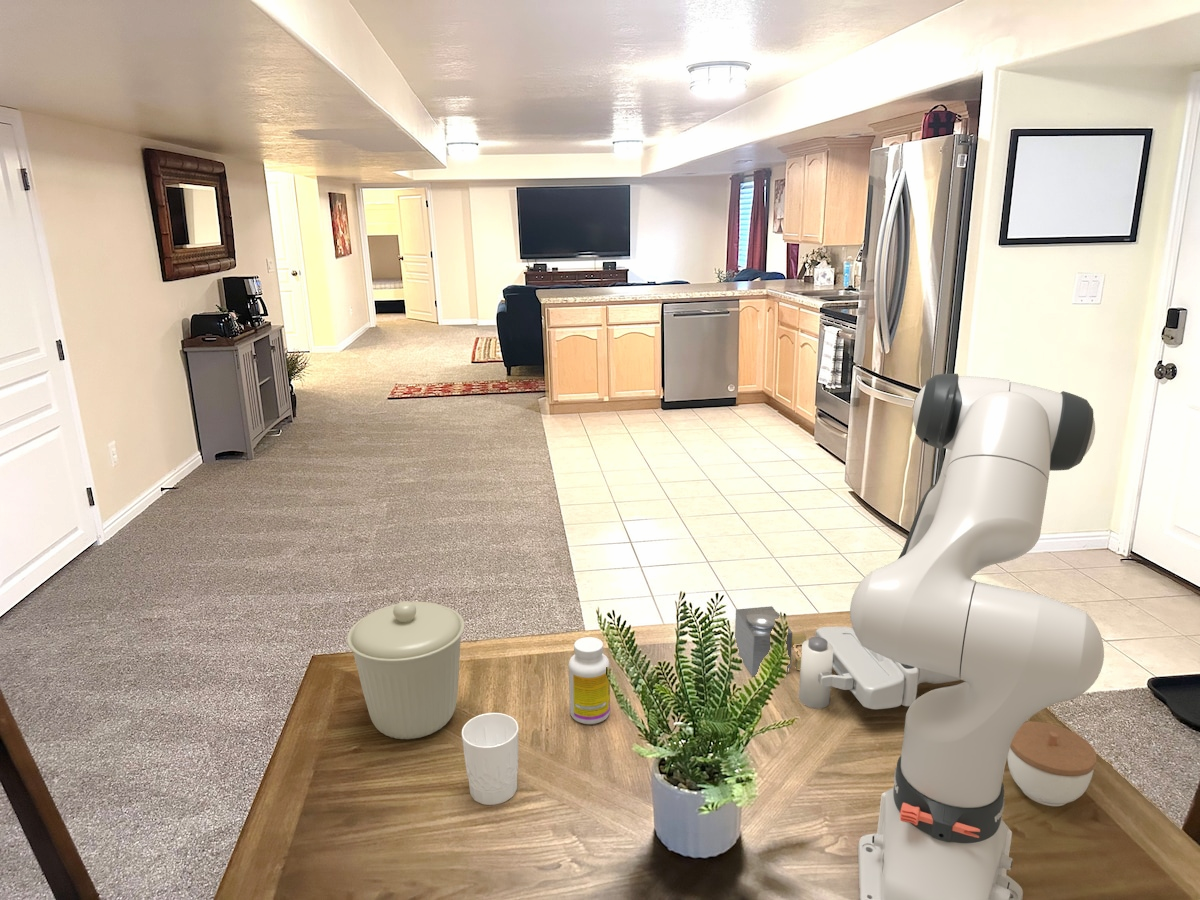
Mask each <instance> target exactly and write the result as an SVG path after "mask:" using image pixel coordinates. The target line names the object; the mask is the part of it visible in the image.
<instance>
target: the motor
mask: <svg viewBox="0 0 1200 900" xmlns="http://www.w3.org/2000/svg"><path fill="white" fill-rule="evenodd" d="M779 616H781V615H780V613H779V612H778V611H776V609H774V606H773V605H771V606H761V607H749V608H739V609H738V608H737V609H735V626H734V639H735V638H736V643H737V647H738V649H739V654H738V657H739V658H740V657H741V658H742V659H743V661H742V663H743V664H744V666H745V668H746V669H747V672H748V673H749V674H750V676H751V675H752V676H751V677H752V678H753V676H755V675H756V674H757V672H758V669H759V666H760V663H761V662H762V660H763V658H764V657H765V656H766V655H767V654H768V652H769V650H770V633H771V631H772V629H773V627H774V625H775V619H778V618H779ZM806 640H807V635H806V633H804V632H803V633H793V632H792V630H791V629H790V627H788V635H787V641H786V644H787V650H788V655H789V657H790V660H791V659H792V647H793V645H794V644H800V643H803V642H804V641H806ZM793 648H794V647H793ZM796 653H797V654H798V651H797V652H796ZM796 653H795V654H796ZM797 654H796V655H797ZM741 658H740V659H741ZM742 659H741V660H742ZM794 659H795V660H794V668H795V667H796V669H800V668H801V657H795V658H794ZM791 661H792V660H791ZM791 661H790V664H789V665H788V666H787V673H786V674H789V673H788V668H789V672H790V673H791V663H792V662H791ZM796 669H795V670H796ZM755 677H756V676H755Z"/></svg>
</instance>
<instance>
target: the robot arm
mask: <svg viewBox="0 0 1200 900" xmlns="http://www.w3.org/2000/svg"><path fill="white" fill-rule="evenodd" d="M912 422H913V425H914V428H915V435H916V436H917V437H918V439H919V440H920V441H921V442H922V443H924V444H926V445H928V446H930V447H933V448H935V449H939V450H943V448H944V449H946V453H945V455H944V459H943V462H942V467H941V471H940V475H939V477H938V480H937V482H936V483H935V484H933V485H932V486H931V487H929V488H928V489H927V491H926V492H925V494H924V495H923V497H922V499H921V501H920V503H919V506H918V508H917V511H916V514H915V515H914V516H915V517H914V518H913V522H912V523H911V527H910V529H909V531H908V532H909V533H908V534H907V537H906V540H905V543H904V546H903V548H902V551H901V553H900V555H899V556H898V558H897V559H896V560H894V561H892V562H891V563H888V564H887V565H884V566H881V567H879V568H876V569H874V570H873V571H870V573H869V574H866V576H864V578H863V579H862V580H861V581H860V582H859V583H858V585H857V587H856V588H855V591H854V592H853V594H852V597H851V601H850V605H849V606H850V607H849V614H850V615H849V616H850V617H849V618H850V623H851V626H852V627H851V626H850V627H849V626H822V627H819V628H817V629H816V630H815V634H814V637H821V638H824V639H826V640H827V642H828V643H830V644H831V645H832V646H833V662H832V670H833V671H835V673H836V674H830V673H829V672H825V673H819V675H818V682H819V683H820V684H821V686H822V687H830V688H836V689H840V690H844V691H847V690H849V691H850V692H851V693H852V694H853V696H854V697H855V698H856V699H857V701H859V703H860V704H861V705H862V707H864V708H866V709H870V710H883V709H884V710H885V709H892V708H897V707H900V706H901V705H902V706H904V707H908V709H907V711H906V714H905V719H904V729H903V730H904V731H903V739H902V746H901V747H902V748H901V749H902V750H901V754H900V756H899V757H898V758H897V759H898V760H897V762H896V766H895V770H894V774H893V787H891V788H890V789H888V790H885V791H884V792H882V793H881V796H880V803H879V805H880V806H879V811H878V812H879V814H878V822H877V830H876V833H869V834H864V835H862V836H861V837H860V838H859V842H858V846H857V849H858V850H857V852H858V853H857V855H858V856H857V857H858V882H859V884H858V885H859V886H858V887H859V888H860V894H859V900H1023V899H1024V898H1023V897H1024V895H1023V894H1024V891H1023V888H1022V886H1020V884H1019V883H1018V882H1017V881H1015V880H1014V879H1013V878H1012V877H1010V876H1009V875H1007V871H1011V869H1012V866H1013V857H1010V849H1011V843H1012V836H1013V831H1012V830H1011V829H1010V827H1009V826H1008V825H1007V824H1006V823H1005V821H1004V820H1003V818H1002V815H1003V813H1004V808H1005V801H1006V800H1005V786H1004V782H1003V779H1004V773H1005V768H1006V763H1007V761H1008V759H1007V756H1008V752H1009V749H1010V746H1011V743H1012V740H1013V738H1014V736H1015V734H1016V732H1017V731H1018V730H1019V728H1020V727H1021V726H1022V725H1023V724H1024V723H1025V722H1028V720H1029V719H1031V718H1032V717H1034V715H1036V714H1037V713H1039V712H1041V711H1043V710H1044V709H1047V708H1048V707H1051V706H1053V705H1056V704H1059V703H1062V702H1066V701H1070V700H1074V699H1076V698H1079V697H1080V696H1082V695H1083V694H1084V693H1086V692H1087V691H1088V690H1090V689H1091V687H1092V686H1093V685H1094V684H1095V682H1096V681H1097V679H1098V678H1099V676H1100V674H1101V673H1102V668H1103V665H1104V660H1105V659H1104V658H1105V646H1104V642H1103V638H1102V635H1101V632H1100V630H1099V628H1098V626H1097V625H1096V623H1095V621H1094V619H1093V618H1092V616H1090V615H1089V613H1088V612H1087V611H1085V610H1083V609H1080V608H1079V607H1075V606H1073V605H1070V604H1068V603H1065V602H1063V601H1060V600H1058V599H1055V598H1052V597H1049V596H1046V595H1044V594H1040V593H1035V592H1030V591H1025V590H1022V589H1021V590H1020V589H1016V588H1010V587H1005V586H999V585H994V584H989V583H984V582H979V581H976V580H974V579H972V578H973V576H975V574H976V573H978V572H979V571H981V570H982V569H985V568H987V567H989V566H993V565H998V564H1002V563H1005V562H1010V561H1013V560H1016V559H1018V558H1021V557H1022V556H1023V555H1026V554H1027V553H1029V552H1030V551H1031V550H1032V549H1034V547H1035V546H1036V545H1037V543H1038V542H1039V539H1040V537H1041V531H1042V527H1043V518H1044V512H1045V508H1046V507H1045V506H1046V500H1047V494H1048V492H1047V491H1048V486H1049V478H1050V472H1051V471H1056V472H1057V471H1059V472H1060V471H1068V470H1070V469H1072V468H1074V467H1076V466H1078V465H1079V464H1081V462H1082V461H1083V459H1084V457H1085V456H1086V455H1087V454H1088V452H1089V451H1090V449H1091V447H1092V445H1093V443H1094V440H1095V434H1096V423H1095V417H1094V409H1093V407H1092V406H1091V405H1090V402H1089V401H1088V400H1087V399H1085V398H1083V397H1082V396H1080V395H1077V394H1073V393H1070V392H1067V391H1064V390H1063V391H1061V392H1057V391H1054V390H1050V389H1048V388H1043V387H1039V386H1036V385H1031V384H1026V383H1019V382H1015V381H1010V380H1009V379H1005V378H1004V379H1003V378H995V377H984V376H969V375H968V376H967V375H966V376H965V375H964V376H962V375H961V376H960V375H959V374H958V373H940V374H939V373H938V374H935V375H933V376H932V377H930V378H928V379H927V380H926V383H925V385H923V387H922V388H921V389H920V391H919V392H918V393H917V395H916V397H915V401H914V403H913V407H912ZM957 681H963V682H960V683H958V684H955V685H950V686H949V685H948V686H943V687H938V688H935V689H931V690H930V691H926V692H925V693H924V694H921V696H918V697H917V693H918V685H920V684H922V683H929V684H933V685H934V684H935V685H936V684H944V683H952V682H957Z"/></svg>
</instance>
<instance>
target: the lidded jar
mask: <svg viewBox="0 0 1200 900" xmlns="http://www.w3.org/2000/svg"><path fill="white" fill-rule="evenodd" d="M1097 760H1098V756H1097V752H1096V750H1095V748H1094V747H1093V746H1092V745H1091V744H1090V743H1089V742H1088V740H1086V739H1085V738H1083V736H1080V735H1079V734H1078V733H1077V732H1074V731H1072V730H1071V729H1068V728H1065V727H1063V726H1059V725H1057V724H1053V723H1049V722H1042V721H1026V722H1025V723H1024V724H1023V725H1022V726H1021V727H1020V728H1019V730H1018V731H1017V732H1016V734H1015V736H1014V738H1013V740H1012V743H1011V746H1010V749H1009V752H1008V756H1007V765H1008V770H1009V773H1010V775H1011V778H1012V779H1013V781H1014V782H1015V784H1016V785H1017V786H1018V787H1019V788H1020V790H1021V792H1022V793H1023V794H1024V796H1025V797H1027V798H1029V799H1030V800H1032V801H1034V802H1035V803H1038V804H1040V805H1043V806H1048V807H1062V806H1065V805H1066V804H1069V803H1071V802H1074V801H1076V800H1077V799H1079V798H1080V797H1082V796H1083V794H1084V793H1085V792H1086V791H1087V789H1088V788H1089V785H1090V784H1091V781H1092V778H1093V774H1094V772H1095V771H1094V770H1095V768H1096V765H1097Z"/></svg>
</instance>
